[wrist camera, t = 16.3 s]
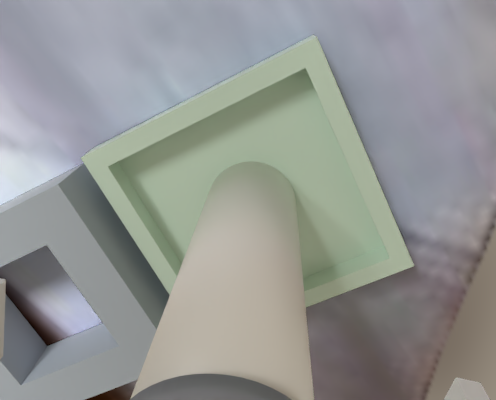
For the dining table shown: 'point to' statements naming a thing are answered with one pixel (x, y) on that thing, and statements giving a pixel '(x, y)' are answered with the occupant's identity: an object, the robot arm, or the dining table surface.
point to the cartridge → (236, 300)
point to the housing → (89, 284)
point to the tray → (265, 151)
